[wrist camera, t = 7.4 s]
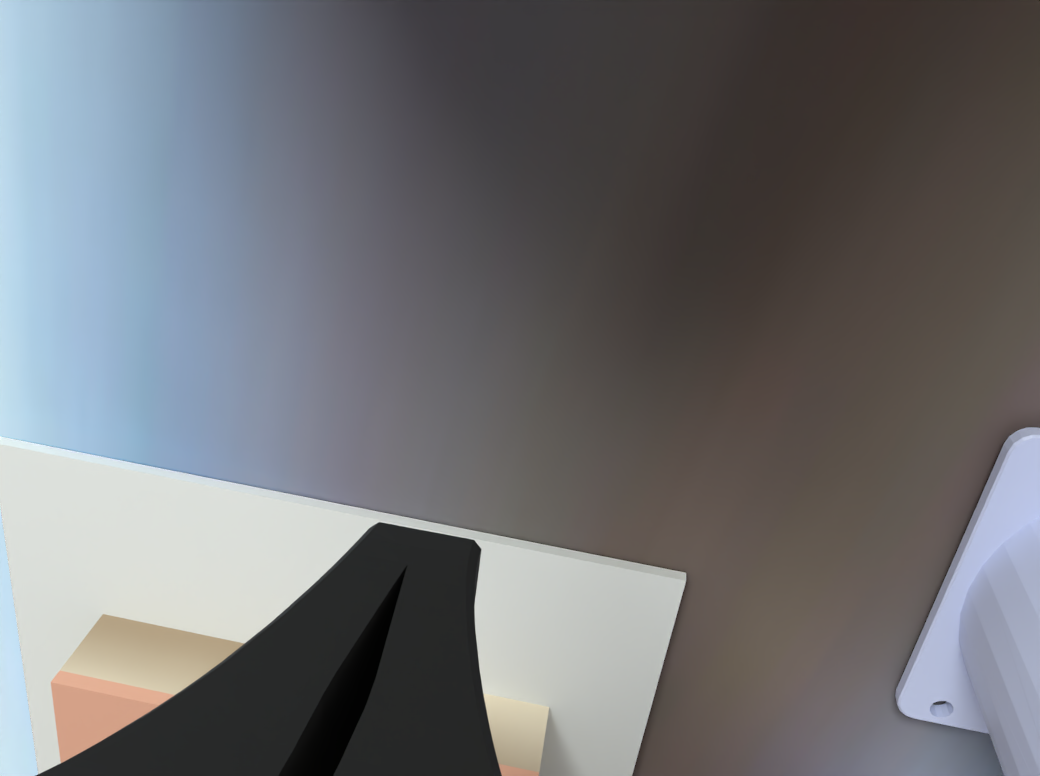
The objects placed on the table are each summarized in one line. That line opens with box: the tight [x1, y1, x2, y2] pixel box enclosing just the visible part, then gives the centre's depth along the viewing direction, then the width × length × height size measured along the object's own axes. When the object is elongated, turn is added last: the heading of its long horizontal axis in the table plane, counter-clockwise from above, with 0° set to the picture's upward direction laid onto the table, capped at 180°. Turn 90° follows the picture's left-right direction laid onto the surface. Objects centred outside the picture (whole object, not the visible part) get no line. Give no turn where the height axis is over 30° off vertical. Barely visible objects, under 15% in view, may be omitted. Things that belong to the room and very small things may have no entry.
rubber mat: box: [0, 437, 686, 776], centre depth 27 cm, size 17×15×1 cm
